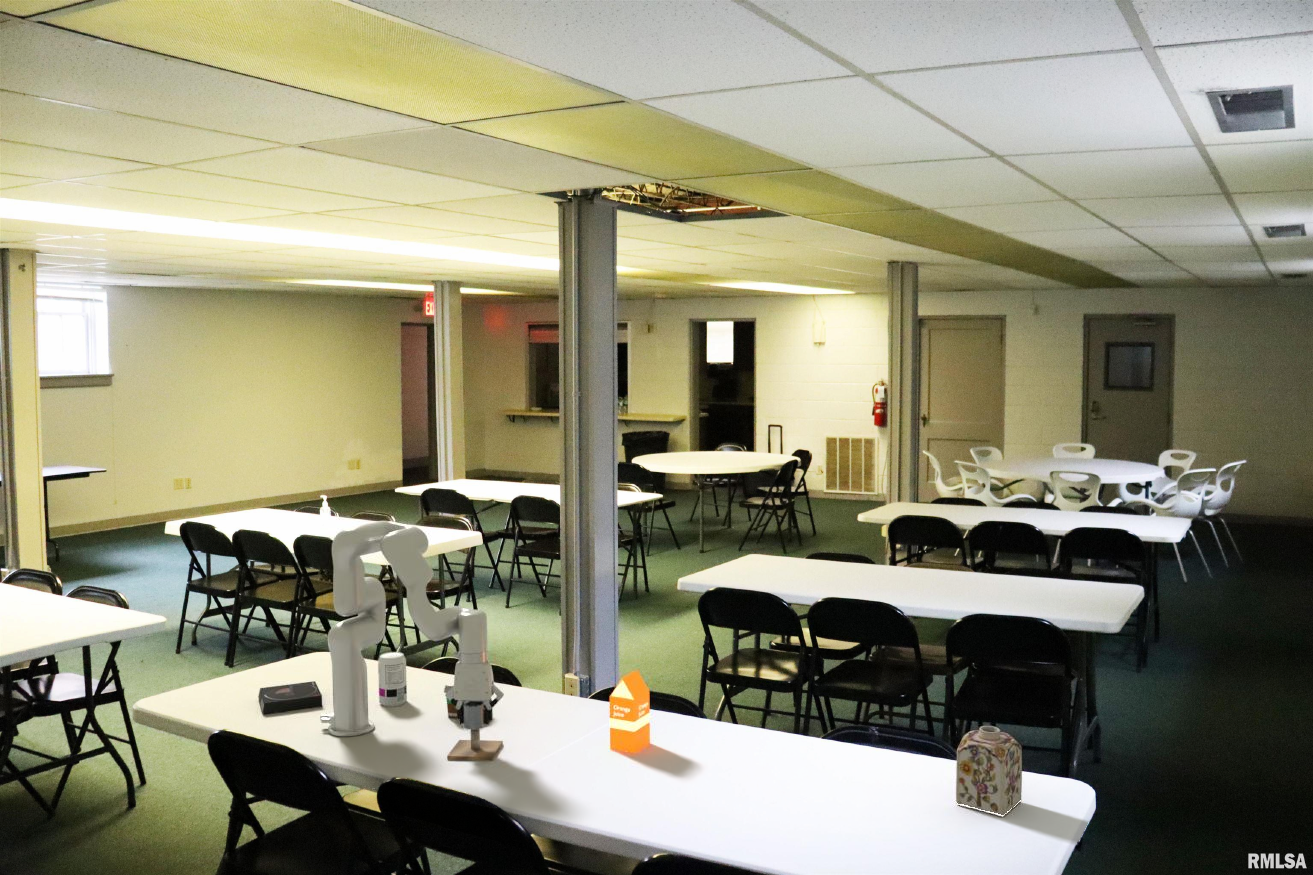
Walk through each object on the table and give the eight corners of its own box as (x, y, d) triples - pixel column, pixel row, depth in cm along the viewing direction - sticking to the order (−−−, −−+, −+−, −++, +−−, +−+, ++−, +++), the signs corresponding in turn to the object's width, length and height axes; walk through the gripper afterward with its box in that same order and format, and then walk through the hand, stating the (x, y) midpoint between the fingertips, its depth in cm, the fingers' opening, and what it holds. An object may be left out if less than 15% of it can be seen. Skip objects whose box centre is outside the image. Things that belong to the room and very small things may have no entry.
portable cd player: (258, 700, 331) (257, 688, 331) (315, 693, 338) (315, 681, 338) (262, 716, 316) (262, 703, 316) (322, 708, 323) (321, 695, 323)
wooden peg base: (447, 759, 279) (446, 737, 279) (459, 743, 291) (459, 721, 291) (492, 760, 278) (491, 738, 278) (502, 744, 290) (502, 722, 290)
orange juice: (609, 749, 286) (608, 676, 284) (625, 738, 294) (625, 667, 292) (635, 753, 282) (634, 680, 281) (650, 743, 290) (650, 671, 289)
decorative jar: (974, 789, 257) (975, 716, 255) (1022, 802, 249) (1023, 727, 248) (954, 805, 248) (955, 730, 246) (1003, 819, 240) (1004, 741, 239)
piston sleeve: (460, 729, 281) (459, 707, 281) (466, 721, 287) (466, 699, 287) (484, 729, 280) (483, 707, 280) (489, 721, 287) (489, 699, 286)
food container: (458, 723, 307) (458, 689, 307) (444, 719, 311) (443, 685, 310) (489, 712, 317) (489, 679, 317) (475, 708, 321) (475, 675, 320)
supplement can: (374, 706, 324) (372, 657, 323) (388, 697, 332) (387, 650, 330) (397, 708, 321) (396, 659, 320) (411, 700, 329) (410, 652, 328)
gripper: (437, 660, 280) (439, 727, 281) (502, 661, 278) (503, 728, 279) (445, 652, 287) (447, 717, 288) (508, 653, 286) (510, 718, 287)
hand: (475, 722), depth 284 cm, fingers closed on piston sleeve, 6 cm apart
